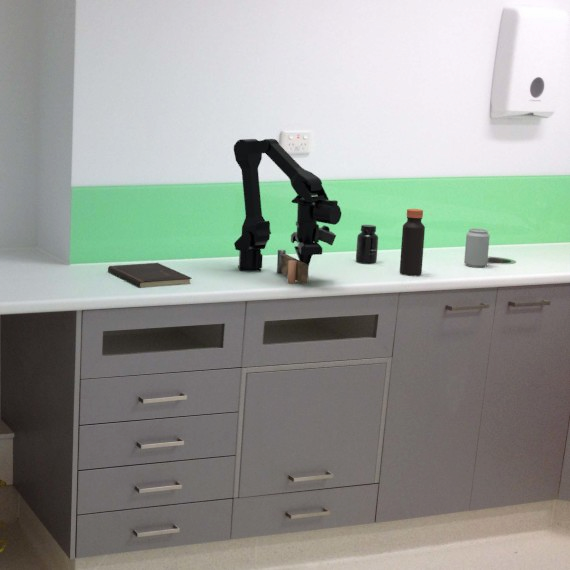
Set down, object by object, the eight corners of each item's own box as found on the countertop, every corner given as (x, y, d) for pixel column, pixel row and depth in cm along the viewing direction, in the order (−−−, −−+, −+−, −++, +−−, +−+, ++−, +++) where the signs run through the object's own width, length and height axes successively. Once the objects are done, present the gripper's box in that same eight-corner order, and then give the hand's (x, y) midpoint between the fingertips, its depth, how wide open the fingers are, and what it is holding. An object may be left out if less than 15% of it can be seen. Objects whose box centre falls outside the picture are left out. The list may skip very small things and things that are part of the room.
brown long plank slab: (280, 272, 322) (280, 254, 321) (285, 272, 323) (286, 254, 321) (301, 283, 307) (302, 265, 306) (307, 283, 308) (308, 264, 307)
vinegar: (408, 270, 337) (413, 207, 332) (425, 274, 332) (430, 210, 328) (395, 273, 332) (399, 209, 328) (412, 277, 327) (416, 212, 323)
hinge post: (277, 273, 322) (278, 251, 321) (276, 272, 325) (277, 249, 323) (285, 274, 323) (286, 251, 321) (284, 272, 325) (285, 249, 324)
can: (461, 266, 348) (464, 229, 346) (466, 262, 355) (469, 226, 353) (484, 268, 346) (487, 232, 343) (489, 265, 353) (492, 229, 350)
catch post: (288, 283, 310) (289, 261, 308) (286, 281, 312) (287, 259, 311) (296, 283, 310) (297, 261, 309) (294, 281, 312) (296, 260, 311)
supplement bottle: (375, 264, 344) (377, 228, 341) (354, 263, 345) (356, 226, 343) (377, 261, 350) (380, 224, 348) (357, 259, 352) (359, 223, 349)
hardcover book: (157, 270, 323) (157, 262, 322) (191, 285, 304) (191, 277, 303) (107, 273, 315) (107, 265, 314) (139, 289, 295) (139, 281, 295)
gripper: (340, 225, 303) (338, 279, 307) (327, 213, 321) (325, 264, 325) (302, 226, 301) (300, 279, 305) (291, 213, 319) (289, 264, 323)
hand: (305, 271), depth 315 cm, fingers closed
